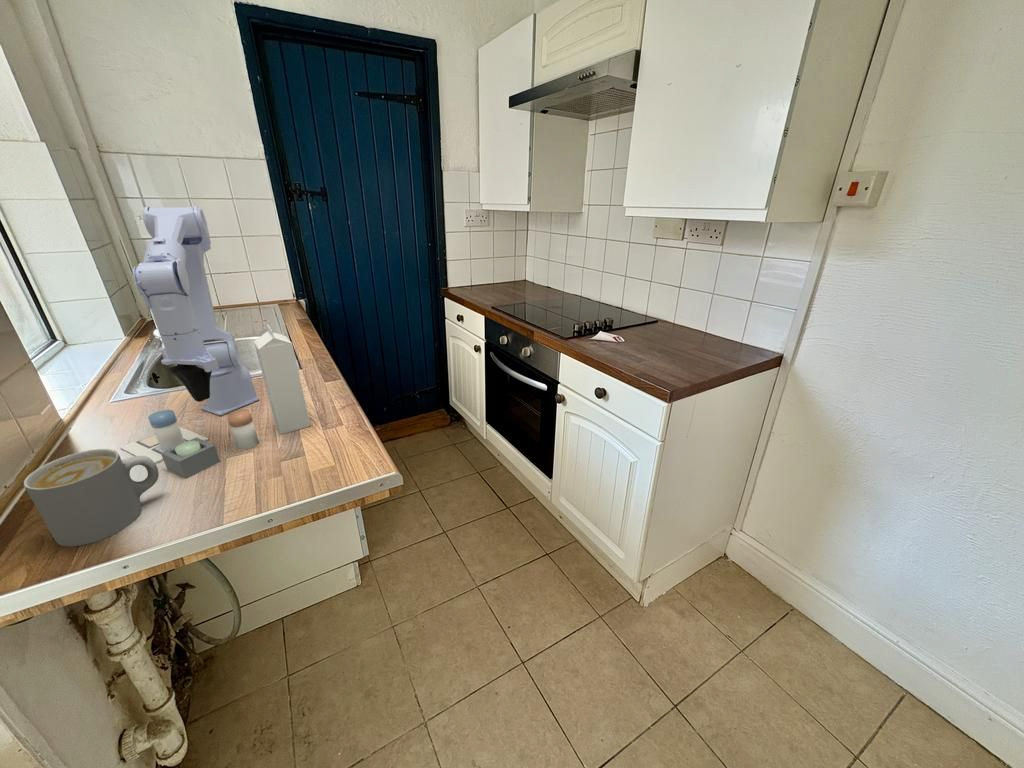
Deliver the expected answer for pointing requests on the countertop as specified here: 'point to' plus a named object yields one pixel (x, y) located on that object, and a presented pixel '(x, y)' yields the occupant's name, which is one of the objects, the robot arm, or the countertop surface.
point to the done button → (187, 448)
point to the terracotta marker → (243, 429)
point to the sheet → (155, 445)
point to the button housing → (191, 459)
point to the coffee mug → (89, 494)
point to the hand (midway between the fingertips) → (202, 399)
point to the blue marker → (166, 429)
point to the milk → (282, 381)
